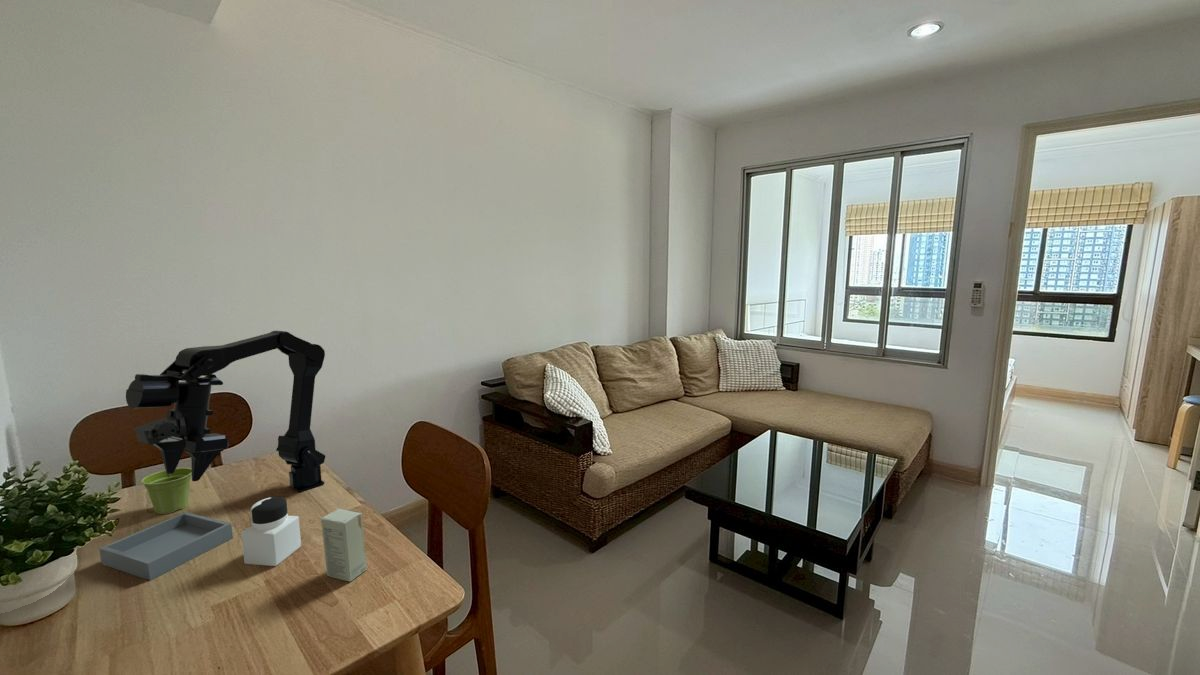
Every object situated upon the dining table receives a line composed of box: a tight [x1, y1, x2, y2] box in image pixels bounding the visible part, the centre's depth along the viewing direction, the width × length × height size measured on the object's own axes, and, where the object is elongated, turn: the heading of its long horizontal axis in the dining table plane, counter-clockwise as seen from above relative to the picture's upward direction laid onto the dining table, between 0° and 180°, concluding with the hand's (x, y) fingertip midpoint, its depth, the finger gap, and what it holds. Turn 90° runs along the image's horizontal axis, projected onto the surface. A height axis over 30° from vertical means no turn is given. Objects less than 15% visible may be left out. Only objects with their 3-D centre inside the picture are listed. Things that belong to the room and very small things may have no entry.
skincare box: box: [320, 507, 368, 582], centre depth 91 cm, size 6×4×12 cm
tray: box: [99, 511, 234, 581], centre depth 98 cm, size 15×15×4 cm
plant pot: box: [140, 467, 192, 515], centre depth 115 cm, size 9×9×9 cm
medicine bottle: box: [240, 496, 302, 567], centre depth 96 cm, size 7×7×12 cm
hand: (182, 477), depth 101 cm, fingers open, 9 cm apart
